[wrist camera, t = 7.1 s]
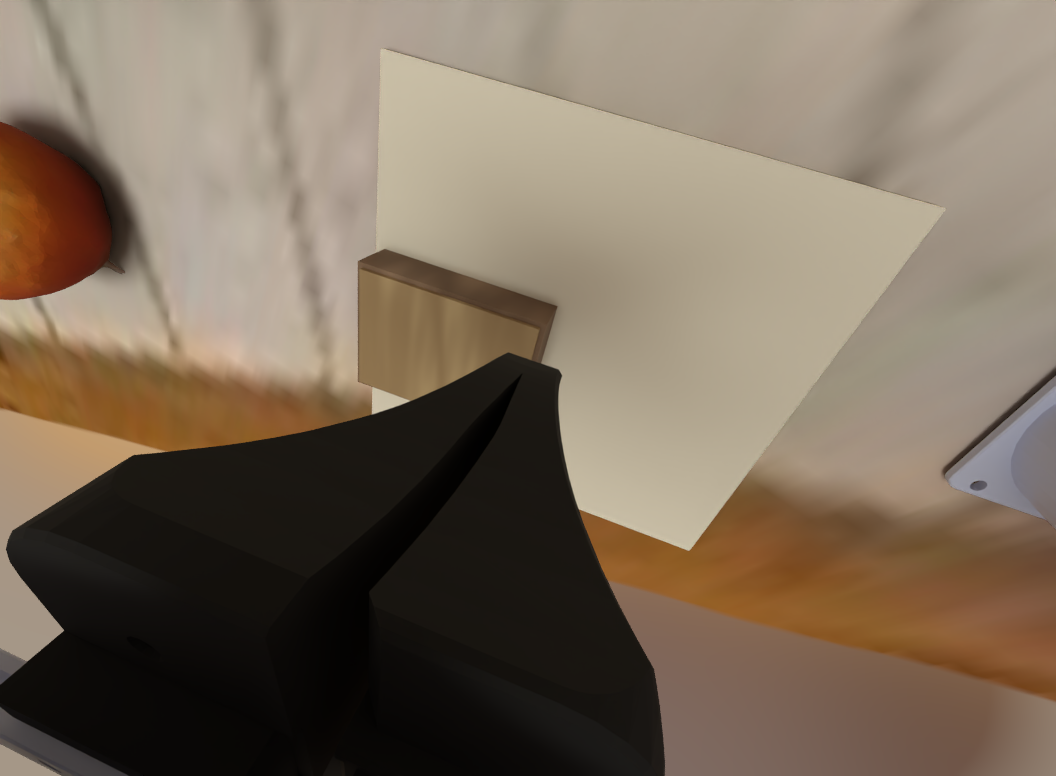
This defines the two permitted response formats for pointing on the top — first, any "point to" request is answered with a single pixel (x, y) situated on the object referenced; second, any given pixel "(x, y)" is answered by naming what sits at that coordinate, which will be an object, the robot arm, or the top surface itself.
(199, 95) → the top surface
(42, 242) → the fruit
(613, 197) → the mat
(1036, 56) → the top surface
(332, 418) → the top surface
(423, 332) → the walnut tile
